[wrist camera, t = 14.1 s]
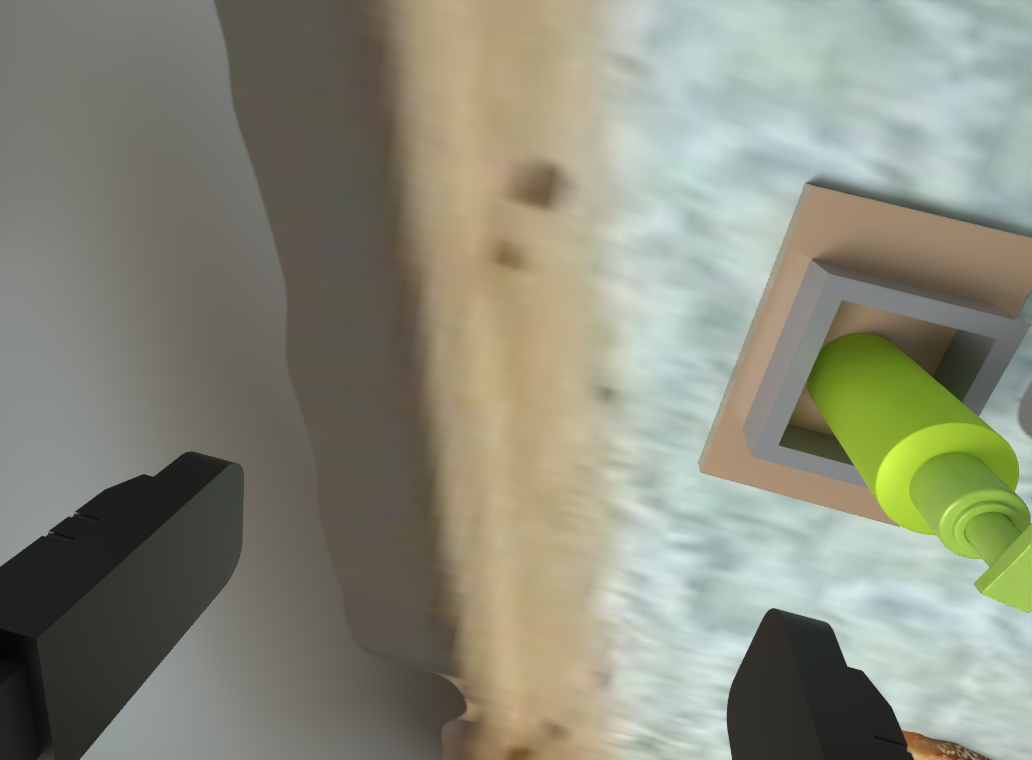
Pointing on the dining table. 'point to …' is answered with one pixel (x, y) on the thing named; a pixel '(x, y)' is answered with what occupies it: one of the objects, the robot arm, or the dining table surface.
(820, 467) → the soap caddy
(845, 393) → the soap dispenser
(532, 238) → the dining table surface
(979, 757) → the bread slice
